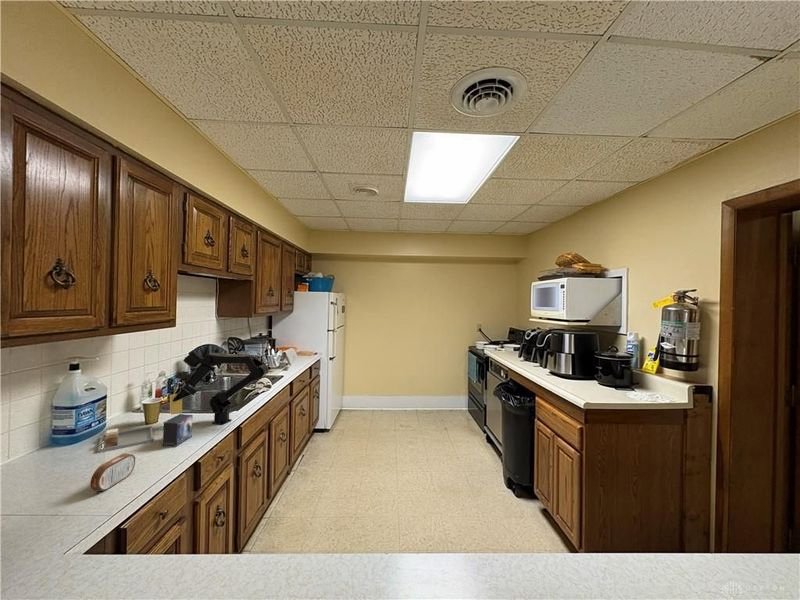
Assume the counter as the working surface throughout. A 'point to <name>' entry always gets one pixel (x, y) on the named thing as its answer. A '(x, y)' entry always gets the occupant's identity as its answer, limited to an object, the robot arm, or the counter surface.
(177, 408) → the mustard box
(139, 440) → the tray
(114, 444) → the walnut block
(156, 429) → the mat
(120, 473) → the tin
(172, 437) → the small box
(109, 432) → the off-white block
